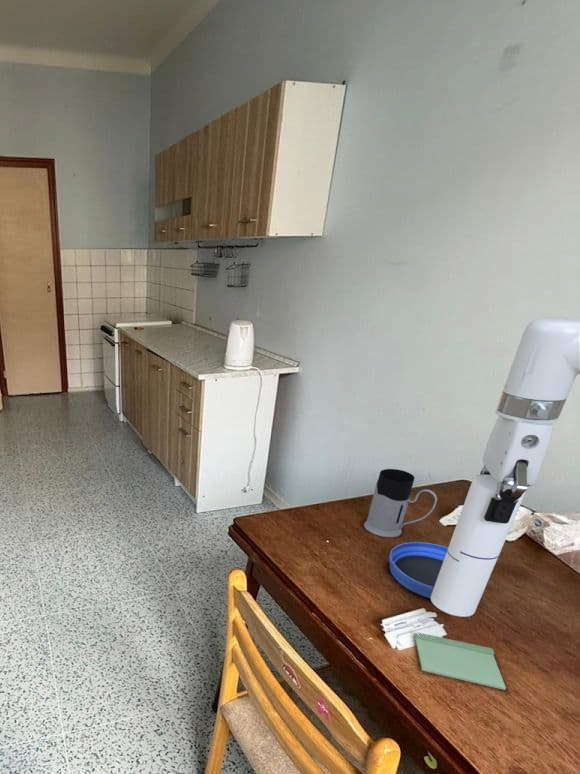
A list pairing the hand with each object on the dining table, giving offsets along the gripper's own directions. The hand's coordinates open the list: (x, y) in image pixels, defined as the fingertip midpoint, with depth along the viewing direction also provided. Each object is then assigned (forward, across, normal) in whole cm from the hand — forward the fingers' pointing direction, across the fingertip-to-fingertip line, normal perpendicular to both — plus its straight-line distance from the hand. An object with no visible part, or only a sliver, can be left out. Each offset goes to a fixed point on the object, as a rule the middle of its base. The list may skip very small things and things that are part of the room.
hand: (489, 509), depth 79 cm
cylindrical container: (+20, 0, 0) cm, 20 cm away
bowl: (+25, +15, 0) cm, 29 cm away
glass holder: (+25, +33, +6) cm, 42 cm away
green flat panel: (+25, -10, 0) cm, 27 cm away
